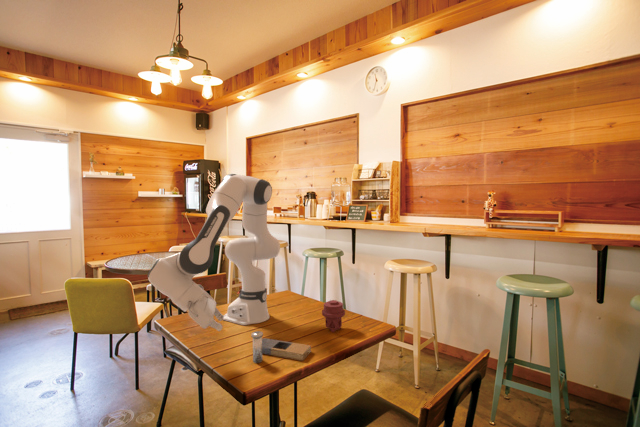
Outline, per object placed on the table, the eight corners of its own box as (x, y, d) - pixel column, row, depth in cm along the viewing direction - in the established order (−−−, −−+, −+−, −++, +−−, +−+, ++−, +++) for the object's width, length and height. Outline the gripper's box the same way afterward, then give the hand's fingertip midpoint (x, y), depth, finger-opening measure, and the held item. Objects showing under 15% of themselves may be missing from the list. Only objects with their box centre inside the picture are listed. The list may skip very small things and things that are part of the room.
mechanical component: (346, 325, 149) (343, 334, 139) (324, 324, 151) (320, 333, 141) (346, 298, 148) (343, 305, 139) (324, 297, 150) (319, 304, 141)
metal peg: (249, 362, 116) (249, 334, 116) (255, 357, 120) (255, 330, 119) (259, 364, 115) (259, 336, 114) (265, 359, 118) (265, 332, 118)
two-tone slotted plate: (253, 352, 124) (253, 345, 124) (264, 344, 131) (263, 338, 131) (302, 360, 117) (302, 354, 117) (310, 351, 124) (310, 345, 124)
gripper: (193, 299, 101) (227, 327, 104) (200, 283, 121) (229, 307, 124) (178, 315, 101) (213, 343, 103) (188, 296, 120) (217, 320, 123)
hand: (221, 323), depth 114 cm, fingers open, 8 cm apart
